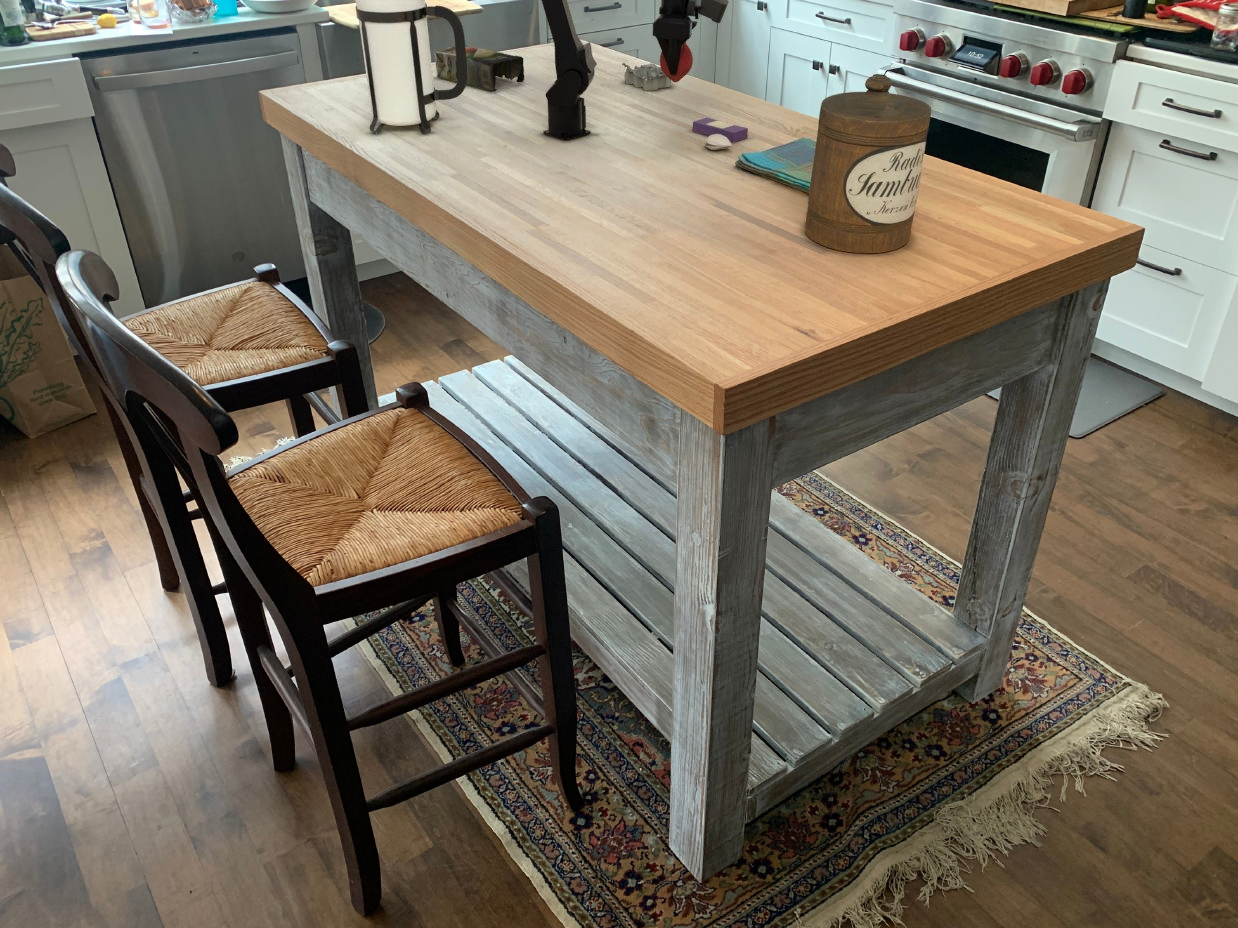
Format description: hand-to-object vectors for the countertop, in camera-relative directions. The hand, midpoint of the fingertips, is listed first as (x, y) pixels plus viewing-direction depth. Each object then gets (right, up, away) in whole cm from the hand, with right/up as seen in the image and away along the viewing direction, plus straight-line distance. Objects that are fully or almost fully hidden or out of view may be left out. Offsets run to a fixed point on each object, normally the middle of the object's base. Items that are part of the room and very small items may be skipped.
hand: (675, 70), depth 174 cm
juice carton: (-40, +14, +42) cm, 60 cm away
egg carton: (-4, +12, +39) cm, 41 cm away
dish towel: (+23, -22, -10) cm, 34 cm away
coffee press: (-49, -5, +14) cm, 51 cm away
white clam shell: (+8, -14, +1) cm, 16 cm away
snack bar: (+9, -8, +9) cm, 15 cm away
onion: (0, -2, +1) cm, 2 cm away
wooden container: (+24, -36, -31) cm, 54 cm away
